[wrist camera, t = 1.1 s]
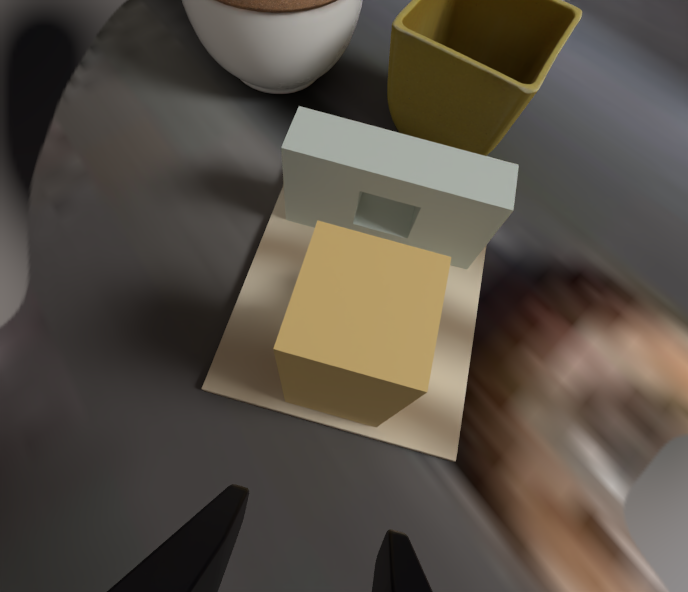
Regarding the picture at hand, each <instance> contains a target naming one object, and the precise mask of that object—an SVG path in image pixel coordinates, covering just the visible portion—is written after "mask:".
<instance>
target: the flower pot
mask: <svg viewBox="0 0 688 592" xmlns="http://www.w3.org/2000/svg"><path fill="white" fill-rule="evenodd" d="M581 17H582V10H580V9H579V8H577V7H575V6H573V5H571V4H569V3H567V2H565V1H562V0H412V1H411V2H410V3H409V4H408V5H407V6H406V7H405V8H404V9H403V10H402V11H401V12H400V13H399V14H398V16H397V17H396V18H395V20H394V21H393V23H392V31H391V43H390V56H389V70H388V84H387V98H388V105H389V110H390V114H391V117H392V119H393V122H394V124H395V126H396V128H397V130H398V131H399V133H402V134H405V135H409V136H413V137H416V138H420V139H424V140H428V141H431V142H435V143H439V144H443V145H446V146H450V147H454V148H458V149H461V150H465V151H469V152H472V153H476V154H480V155H484V156H486V155H488V154H489V153H490V152H491V151H492V150H493V149H494V148H495V147H496V146H497V144H498V143H499V142H500V141H501V140H502V138H503V137H504V135H505V134H506V133H507V131H508V130H509V129H510V127H511V126H512V125H513V123H514V122H515V121H516V119H517V118H518V117H519V115H520V114H521V113H522V111H523V110H524V109H525V107H526V106H527V104H528V103H529V102H530V100H531V99H532V98H533V96H534V95H535V94H536V92H537V91H538V90H539V88H540V86H541V84H542V83H543V81H544V79H545V77H546V75H547V73H548V71H549V69H550V68H551V66H552V64H553V62H554V61H555V59H556V57H557V55H558V54H559V52H560V50H561V49H562V47H563V46H564V44H565V42H566V41H567V39H568V38H569V36H570V35H571V33H572V31H573V30H574V28H575V27H576V25H577V24H578V22H579V21H580V20H581Z"/></svg>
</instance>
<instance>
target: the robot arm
mask: <svg viewBox="0 0 688 592" xmlns="http://www.w3.org/2000/svg"><path fill="white" fill-rule="evenodd" d="M248 496H249V490H248V488H245V487H242V486H238V485H235V484H232V485H230V486H229V487H227V488H226V489H225V490H224V491H223V492H221V493H220V494H219V495H218V496H217V497H216V498H215V499H213V500H212V501H211V502H210V503H209V504H208V505H206V506H205V507H204V508H203V509H202V510H201V511H200V512H198V513H197V514H196V515H195V516H194V517H193V518H191V519H190V520H189V521H188V522H187V523H186V524H185V525H183V526H182V527H181V528H180V529H179V530H178V531H176V532H175V533H174V534H173V535H172V536H171V537H170V538H168V539H167V540H166V541H165V542H164V543H163V544H161V545H160V546H159V547H158V548H157V549H156V550H155V551H153V552H152V553H151V554H150V555H149V556H148V557H146V558H145V559H144V560H143V561H142V562H141V563H140V564H138V565H137V566H136V567H135V568H134V569H133V570H131V571H130V572H129V573H128V574H127V575H126V576H125V577H123V578H122V579H121V580H120V581H119V582H118V583H116V584H115V585H114V586H113V587H112V588H111V589H110V590H108V591H107V592H218V589H219V586H220V584H221V581H222V578H223V575H224V572H225V570H226V567H227V564H228V561H229V558H230V556H231V553H232V550H233V547H234V545H235V542H236V539H237V536H238V533H239V531H240V528H241V525H242V522H243V518H244V514H245V510H246V505H247V500H248ZM372 592H432V589H431V587H430V585H429V583H428V580H427V578H426V576H425V574H424V571H423V569H422V567H421V565H420V562H419V560H418V558H417V556H416V553H415V551H414V549H413V547H412V544H411V542H410V540H409V538H408V536H407V535H406V534H405V533H402V532H398V531H395V530H388V531H387V532H386V535H385V537H384V540H383V542H382V545H381V547H380V550H379V552H378V555H377V559H376V564H375V571H374V579H373V587H372Z"/></svg>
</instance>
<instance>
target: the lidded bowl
mask: <svg viewBox="0 0 688 592" xmlns="http://www.w3.org/2000/svg"><path fill="white" fill-rule="evenodd" d="M182 3H183V6H184V8H185V11H186V13H187V16H188V18H189V21H190V23H191V25H192V27H193V29H194V31H195V33H196V35H197V36H198V38H199V40H200V41H201V43H202V44H203V46H204V47H205V48H206V50H207V51H208V53H209V54H210V55H211V56H212V57H213V58H214V59H215V60H216V61H217V62H218V63H219V64H220V65H221V66H222V67H223V68H224V69H225V70H227V71H228V72H229V73H231V74H232V75H234V76H236V77H237V78H239V79H240V80H241V81H242V82H243V83H245V84H246V85H248V86H249V87H251V88H253V89H256V90H258V91H261V92H265V93H271V94H288V93H294V92H297V91H300V90H303V89H305V88H307V87H308V86H310V85H311V84H313V83H314V82H315V81H316V80H317V79H318V78H319V77H321V76H322V75H323V74H325V73H326V72H328V71H329V70H330V69H331V68H332V67H333V66H334V65H335V64H336V62H337V61H338V60H339V59H340V57H341V56H342V55H343V53H344V51H345V50H346V48H347V46H348V44H349V42H350V40H351V38H352V35H353V33H354V30H355V27H356V24H357V22H358V18H359V14H360V10H361V6H362V0H182Z"/></svg>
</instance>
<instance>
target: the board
mask: <svg viewBox="0 0 688 592" xmlns="http://www.w3.org/2000/svg"><path fill="white" fill-rule="evenodd" d="M314 229H315V228H314V227H310V226H306V225H303V224H299V223H295V222H292V221H288V220H286V213H285V198H284V185H283V187H282V190H281V192H280V195H279V197H278V200H277V202H276V205H275V207H274V210H273V212H272V215H271V217H270V220H269V222H268V225H267V227H266V230H265V232H264V235H263V237H262V240H261V242H260V245H259V247H258V250H257V252H256V255H255V257H254V259H253V262H252V264H251V267H250V269H249V272H248V274H247V277H246V279H245V282H244V284H243V287H242V289H241V292H240V294H239V297H238V299H237V302H236V304H235V307H234V309H233V312H232V314H231V317H230V319H229V322H228V324H227V327H226V329H225V332H224V334H223V337H222V339H221V342H220V344H219V347H218V349H217V352H216V354H215V357H214V359H213V362H212V364H211V367H210V369H209V372H208V374H207V377H206V379H205V382H204V384H203V387H202V390H203V391H206V392H209V393H213V394H216V395H220V396H224V397H227V398H231V399H234V400H238V401H241V402H245V403H248V404H252V405H255V406H259V407H262V408H266V409H269V410H273V411H276V412H280V413H283V414H287V415H290V416H294V417H297V418H301V419H304V420H308V421H311V422H315V423H318V424H322V425H325V426H329V427H333V428H336V429H340V430H343V431H347V432H350V433H354V434H357V435H361V436H364V437H368V438H371V439H375V440H378V441H382V442H385V443H389V444H392V445H396V446H399V447H403V448H406V449H410V450H413V451H417V452H420V453H424V454H427V455H431V456H435V457H438V458H442V459H445V460H449V461H456V456H457V449H458V442H459V435H460V428H461V420H462V413H463V406H464V399H465V392H466V385H467V378H468V371H469V364H470V357H471V350H472V343H473V336H474V328H475V321H476V314H477V307H478V300H479V293H480V286H481V279H482V272H483V265H484V258H485V251H486V246H485V247H484V249H483V250H482V251H481V252H480V254H479V255H478V256H477V257H476V259H475V260H474V261H473V263H472V264H471V265H470V266H469V268H468V269H463V268H459V267H456V266H452V265H450V268H449V274H448V280H447V285H446V291H445V296H444V302H443V308H442V313H441V319H440V324H439V330H438V335H437V341H436V347H435V352H434V358H433V363H432V369H431V375H430V380H429V386H428V391H427V393H426V394H424V395H423V396H421V397H420V398H418V399H417V400H415V401H414V402H413V403H411V404H410V405H408V406H407V407H405V408H404V409H402V410H401V411H400V412H398V413H397V414H395V415H394V416H392V417H391V418H389V419H388V420H387V421H385V422H384V423H382V424H381V425H379V426H378V427H373V426H369V425H366V424H362V423H359V422H355V421H351V420H348V419H344V418H341V417H337V416H334V415H330V414H327V413H323V412H320V411H316V410H313V409H309V408H306V407H302V406H299V405H295V404H292V403H288V402H285V398H284V394H283V390H282V385H281V381H280V377H279V372H278V368H277V363H276V359H275V355H274V350H273V348H274V345H275V342H276V339H277V336H278V334H279V331H280V328H281V325H282V322H283V319H284V316H285V313H286V310H287V307H288V305H289V302H290V299H291V296H292V293H293V290H294V287H295V284H296V281H297V278H298V275H299V273H300V270H301V267H302V264H303V261H304V258H305V255H306V252H307V249H308V246H309V244H310V241H311V238H312V235H313V232H314Z"/></svg>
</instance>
